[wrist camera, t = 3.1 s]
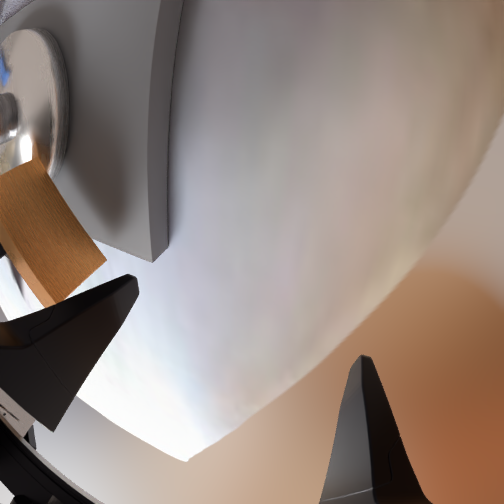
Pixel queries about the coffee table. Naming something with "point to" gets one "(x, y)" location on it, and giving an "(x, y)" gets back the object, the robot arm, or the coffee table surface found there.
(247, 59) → the coffee table surface
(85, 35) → the base plate
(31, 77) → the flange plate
